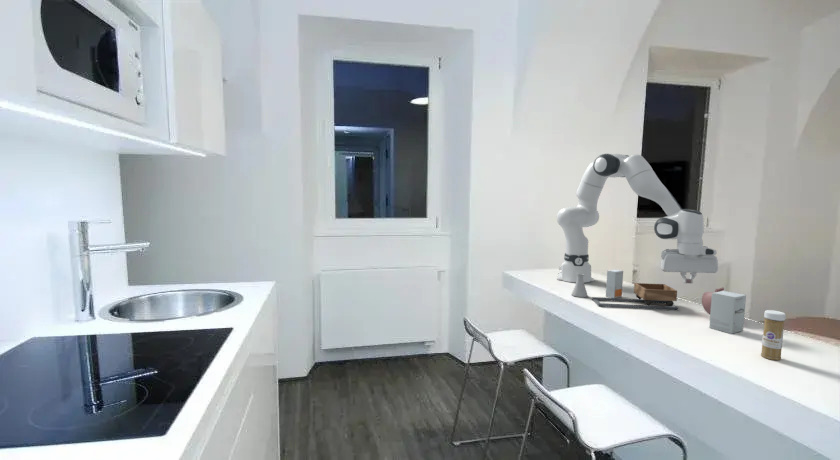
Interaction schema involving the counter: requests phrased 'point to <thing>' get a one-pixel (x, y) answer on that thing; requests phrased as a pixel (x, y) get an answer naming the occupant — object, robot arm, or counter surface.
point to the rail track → (597, 299)
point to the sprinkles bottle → (773, 334)
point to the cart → (655, 293)
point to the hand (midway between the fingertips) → (687, 283)
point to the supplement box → (727, 311)
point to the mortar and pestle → (708, 300)
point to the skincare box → (614, 283)
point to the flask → (579, 287)
